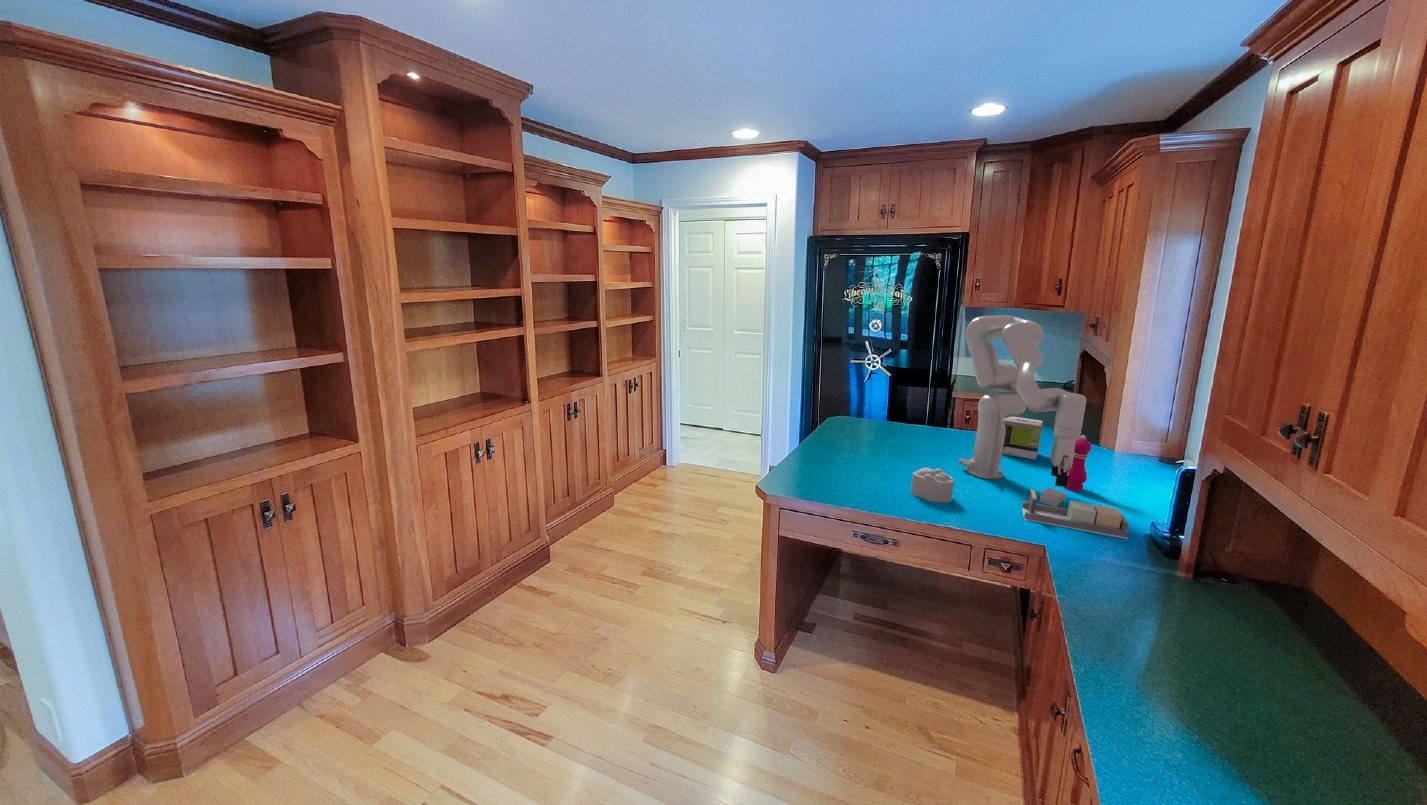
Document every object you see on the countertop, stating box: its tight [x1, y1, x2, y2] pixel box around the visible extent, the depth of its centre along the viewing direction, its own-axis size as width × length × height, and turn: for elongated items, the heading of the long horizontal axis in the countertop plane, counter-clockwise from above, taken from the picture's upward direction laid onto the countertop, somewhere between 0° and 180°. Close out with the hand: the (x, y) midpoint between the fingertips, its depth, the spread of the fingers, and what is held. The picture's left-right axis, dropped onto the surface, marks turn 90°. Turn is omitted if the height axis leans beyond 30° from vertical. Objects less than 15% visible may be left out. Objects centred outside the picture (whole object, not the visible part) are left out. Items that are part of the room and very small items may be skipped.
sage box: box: [1067, 500, 1096, 524], centre depth 172 cm, size 6×6×6 cm
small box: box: [1039, 487, 1067, 508], centre depth 187 cm, size 6×6×5 cm
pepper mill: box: [1063, 434, 1092, 492], centre depth 199 cm, size 7×7×20 cm
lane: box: [1021, 500, 1130, 540], centre depth 173 cm, size 27×11×5 cm, turn 66°
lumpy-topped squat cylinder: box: [910, 467, 955, 503], centre depth 191 cm, size 10×13×9 cm
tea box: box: [1002, 416, 1043, 461], centre depth 233 cm, size 15×10×15 cm
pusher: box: [1028, 489, 1038, 513], centre depth 177 cm, size 1×7×6 cm, turn 157°
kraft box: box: [1093, 504, 1122, 529], centre depth 170 cm, size 6×6×6 cm
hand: (1058, 481), depth 184 cm, fingers open, 9 cm apart
